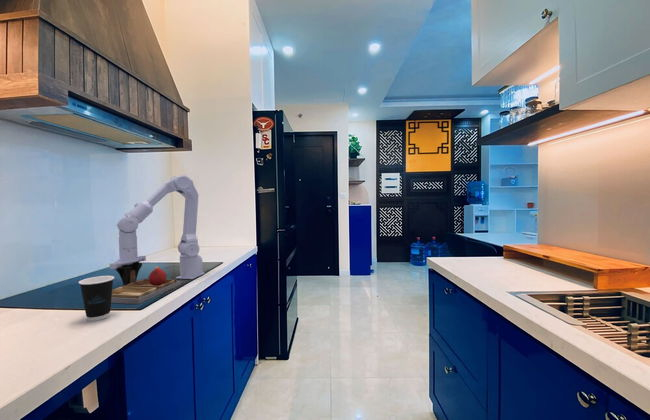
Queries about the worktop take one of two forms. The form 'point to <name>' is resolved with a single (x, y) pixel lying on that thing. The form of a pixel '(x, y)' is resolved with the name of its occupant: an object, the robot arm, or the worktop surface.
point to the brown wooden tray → (144, 298)
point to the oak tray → (132, 292)
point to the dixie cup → (97, 296)
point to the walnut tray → (146, 282)
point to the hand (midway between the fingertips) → (129, 283)
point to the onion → (157, 277)
